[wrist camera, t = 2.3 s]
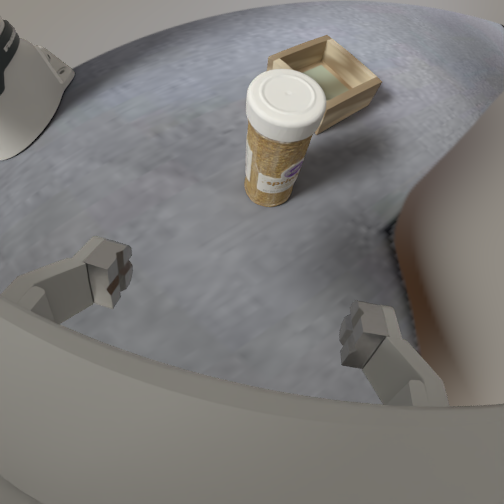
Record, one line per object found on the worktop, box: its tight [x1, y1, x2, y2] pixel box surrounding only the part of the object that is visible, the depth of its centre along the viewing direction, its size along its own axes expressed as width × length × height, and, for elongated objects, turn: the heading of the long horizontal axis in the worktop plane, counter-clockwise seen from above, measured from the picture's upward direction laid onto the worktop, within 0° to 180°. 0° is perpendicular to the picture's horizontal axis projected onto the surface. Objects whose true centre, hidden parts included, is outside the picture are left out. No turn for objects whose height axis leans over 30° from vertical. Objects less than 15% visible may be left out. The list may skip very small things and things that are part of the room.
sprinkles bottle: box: [245, 69, 326, 207], centre depth 22 cm, size 5×5×14 cm
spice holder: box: [267, 35, 382, 135], centre depth 29 cm, size 9×9×4 cm
